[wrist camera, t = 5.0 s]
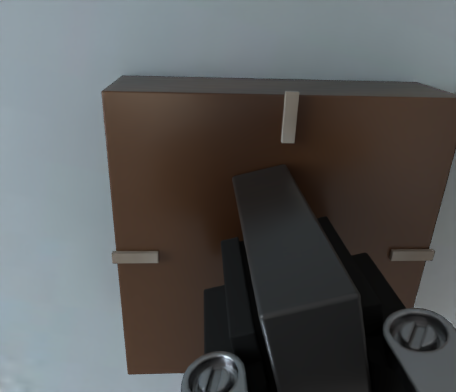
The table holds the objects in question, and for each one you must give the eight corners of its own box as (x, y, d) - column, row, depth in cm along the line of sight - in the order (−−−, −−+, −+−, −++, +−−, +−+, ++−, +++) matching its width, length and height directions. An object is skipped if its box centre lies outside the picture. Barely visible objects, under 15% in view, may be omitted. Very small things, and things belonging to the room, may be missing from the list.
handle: (231, 175, 12) (260, 328, 6) (285, 162, 12) (367, 304, 6) (269, 331, 14) (316, 546, 8) (314, 321, 14) (392, 530, 8)
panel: (420, 79, 14) (478, 95, 11) (369, 315, 18) (402, 372, 15) (118, 72, 13) (94, 87, 10) (136, 320, 17) (124, 380, 14)
